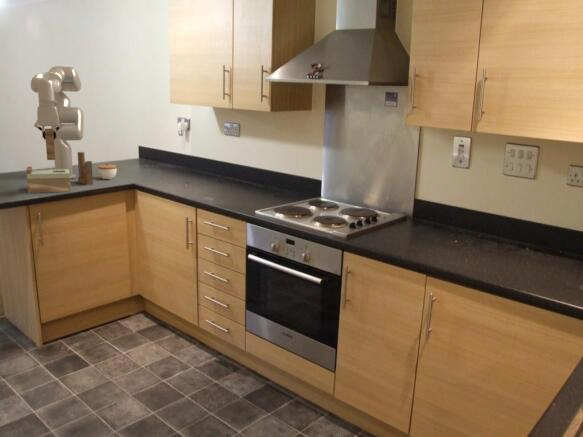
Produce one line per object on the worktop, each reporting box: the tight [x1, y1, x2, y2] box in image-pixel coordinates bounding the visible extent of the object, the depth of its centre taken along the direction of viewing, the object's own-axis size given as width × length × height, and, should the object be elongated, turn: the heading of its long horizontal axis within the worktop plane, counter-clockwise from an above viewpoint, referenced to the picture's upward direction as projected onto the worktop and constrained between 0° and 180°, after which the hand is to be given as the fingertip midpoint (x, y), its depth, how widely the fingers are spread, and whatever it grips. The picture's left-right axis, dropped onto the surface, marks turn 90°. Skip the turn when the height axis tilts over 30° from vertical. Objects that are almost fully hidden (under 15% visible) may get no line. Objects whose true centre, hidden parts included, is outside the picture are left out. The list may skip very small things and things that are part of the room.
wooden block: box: [77, 151, 94, 186], centre depth 297 cm, size 4×11×18 cm, turn 47°
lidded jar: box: [97, 162, 118, 180], centre depth 317 cm, size 11×11×9 cm
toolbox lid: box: [25, 166, 70, 180], centre depth 277 cm, size 12×20×4 cm, turn 113°
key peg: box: [44, 128, 56, 161], centre depth 280 cm, size 4×4×16 cm
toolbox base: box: [26, 178, 71, 194], centre depth 279 cm, size 12×20×8 cm, turn 113°
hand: (49, 139), depth 279 cm, fingers closed on key peg, 4 cm apart
